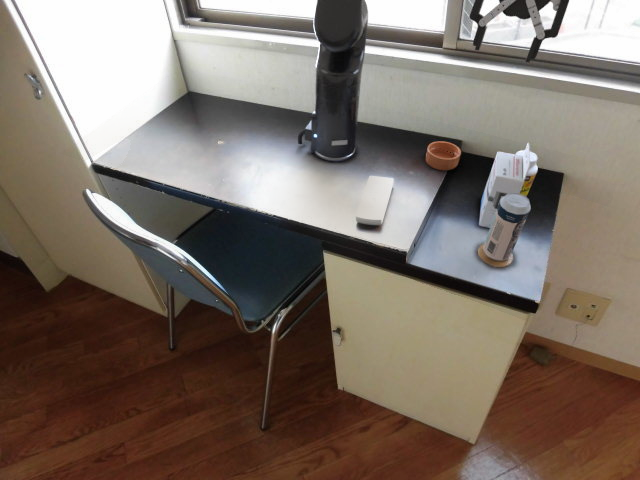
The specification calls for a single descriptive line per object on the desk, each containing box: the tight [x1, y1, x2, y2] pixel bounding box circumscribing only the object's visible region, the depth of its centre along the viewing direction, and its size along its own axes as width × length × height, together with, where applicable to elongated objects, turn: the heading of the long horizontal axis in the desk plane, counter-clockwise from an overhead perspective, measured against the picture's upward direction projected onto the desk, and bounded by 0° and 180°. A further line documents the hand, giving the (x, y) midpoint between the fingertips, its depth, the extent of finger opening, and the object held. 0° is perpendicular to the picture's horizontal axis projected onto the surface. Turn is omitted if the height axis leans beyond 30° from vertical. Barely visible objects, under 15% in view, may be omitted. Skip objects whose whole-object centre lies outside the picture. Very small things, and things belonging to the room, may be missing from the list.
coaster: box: [477, 242, 514, 268], centre depth 84 cm, size 6×6×1 cm
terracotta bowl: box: [424, 140, 462, 171], centre depth 105 cm, size 7×7×3 cm
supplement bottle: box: [515, 149, 539, 198], centre depth 93 cm, size 6×6×10 cm
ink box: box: [478, 142, 531, 229], centre depth 87 cm, size 9×5×15 cm, turn 163°
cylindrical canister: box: [483, 193, 532, 261], centre depth 80 cm, size 5×5×12 cm
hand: (502, 55), depth 81 cm, fingers open, 8 cm apart
